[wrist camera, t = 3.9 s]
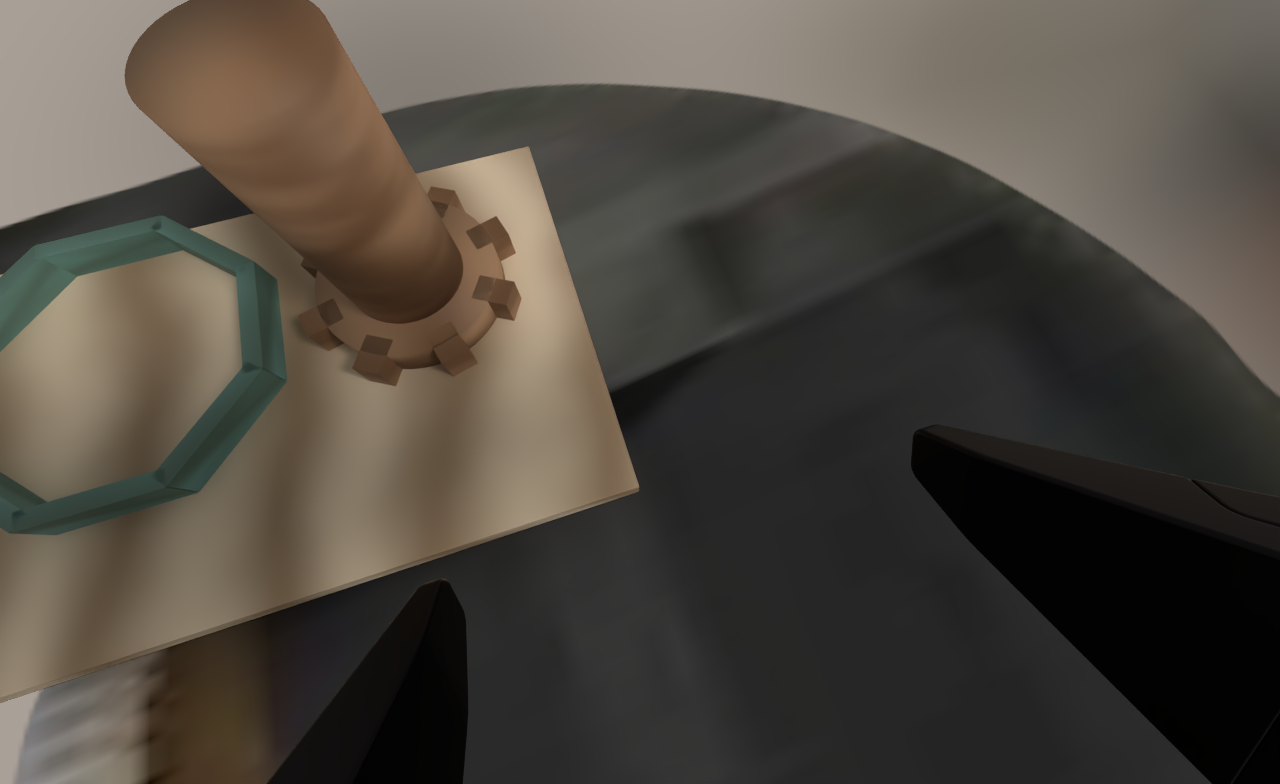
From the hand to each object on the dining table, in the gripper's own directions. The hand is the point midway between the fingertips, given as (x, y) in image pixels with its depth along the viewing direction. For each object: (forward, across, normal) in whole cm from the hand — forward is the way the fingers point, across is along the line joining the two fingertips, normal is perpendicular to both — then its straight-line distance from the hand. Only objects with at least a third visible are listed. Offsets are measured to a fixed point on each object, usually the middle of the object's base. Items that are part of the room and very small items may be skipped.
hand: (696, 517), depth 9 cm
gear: (+18, +7, -2) cm, 20 cm away
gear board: (+17, +14, +1) cm, 22 cm away
